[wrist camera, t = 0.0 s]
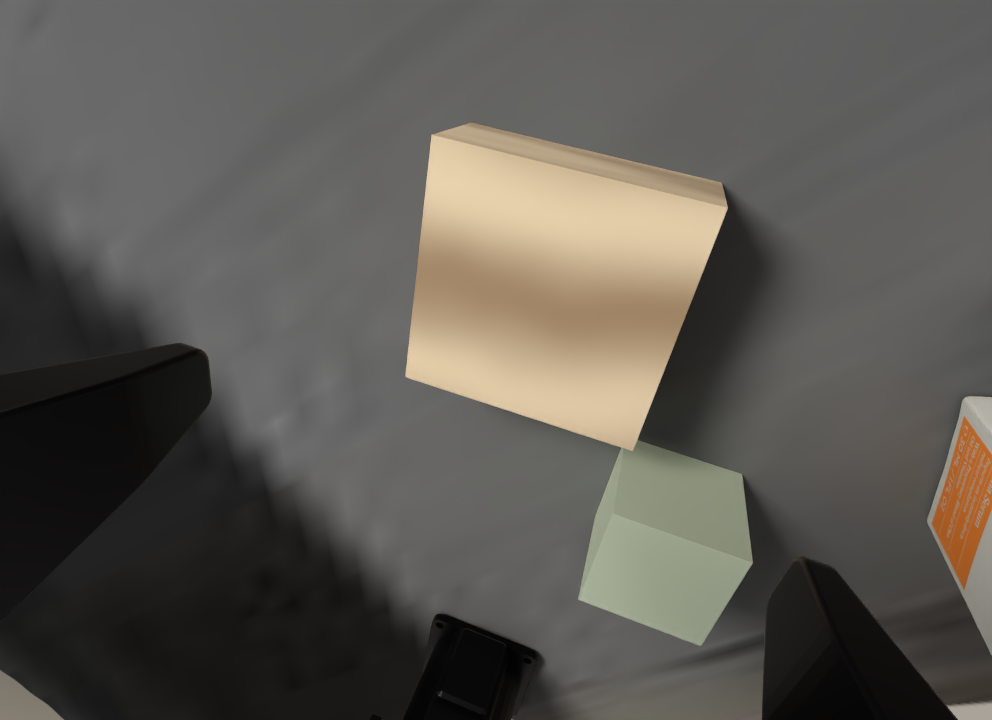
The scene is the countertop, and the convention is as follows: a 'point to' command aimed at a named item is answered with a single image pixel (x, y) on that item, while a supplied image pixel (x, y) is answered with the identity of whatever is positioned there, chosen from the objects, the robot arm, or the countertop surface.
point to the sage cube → (668, 542)
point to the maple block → (555, 277)
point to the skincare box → (968, 510)
